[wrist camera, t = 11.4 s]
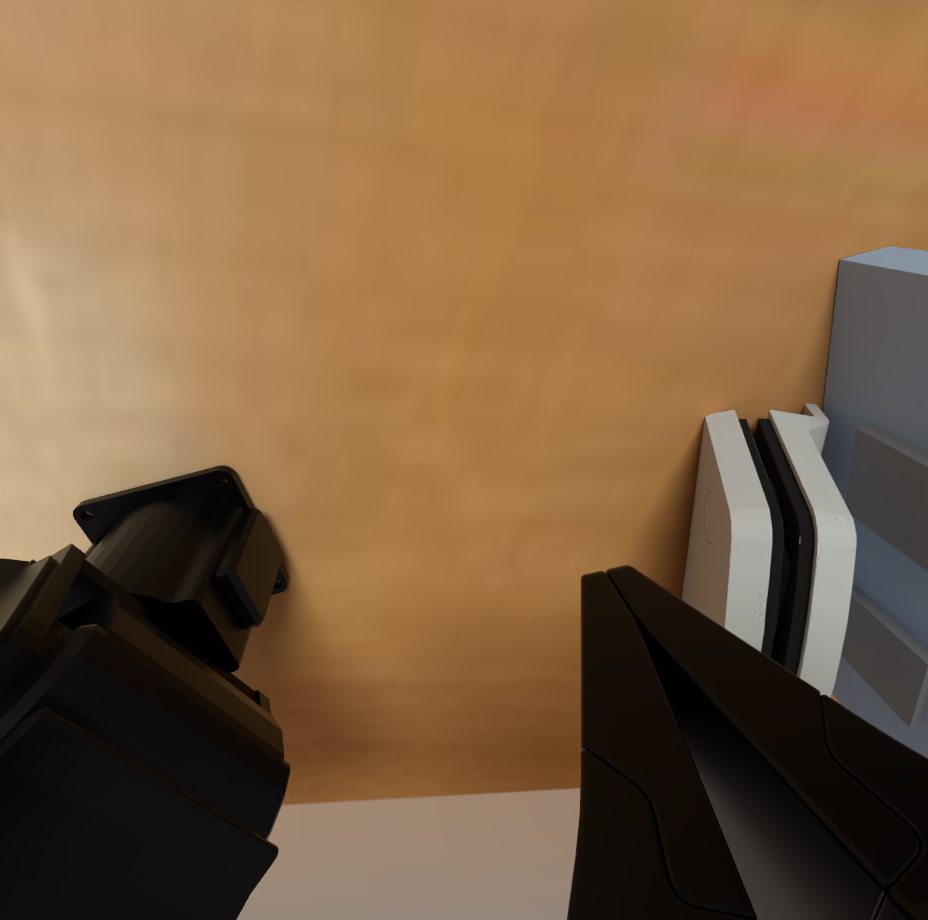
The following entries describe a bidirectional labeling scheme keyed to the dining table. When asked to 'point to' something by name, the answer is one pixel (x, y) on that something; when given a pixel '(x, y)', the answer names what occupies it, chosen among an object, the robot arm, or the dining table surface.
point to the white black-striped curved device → (773, 541)
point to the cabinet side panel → (883, 484)
